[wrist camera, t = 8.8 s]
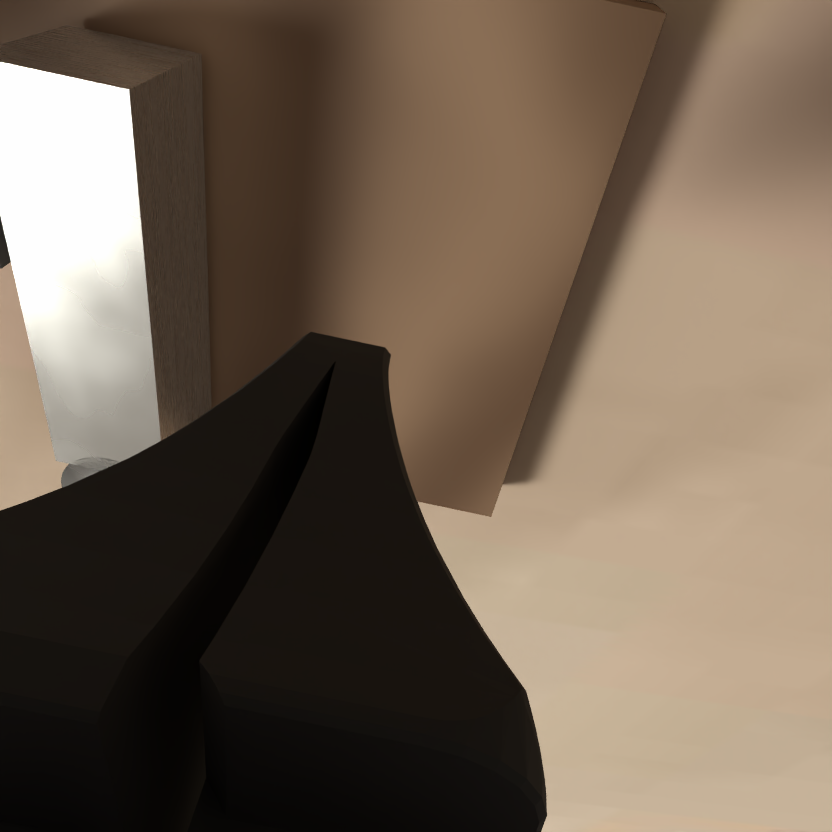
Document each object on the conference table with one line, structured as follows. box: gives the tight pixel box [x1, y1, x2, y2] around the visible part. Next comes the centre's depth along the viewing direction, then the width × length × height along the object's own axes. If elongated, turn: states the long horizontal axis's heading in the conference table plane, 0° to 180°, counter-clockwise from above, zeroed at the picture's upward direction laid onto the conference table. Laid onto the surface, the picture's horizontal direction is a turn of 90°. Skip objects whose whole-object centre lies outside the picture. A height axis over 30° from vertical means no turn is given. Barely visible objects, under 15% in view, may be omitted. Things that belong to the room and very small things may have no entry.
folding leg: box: [0, 25, 212, 488], centre depth 17 cm, size 12×3×4 cm, turn 170°
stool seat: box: [0, 0, 666, 517], centre depth 17 cm, size 15×15×5 cm
